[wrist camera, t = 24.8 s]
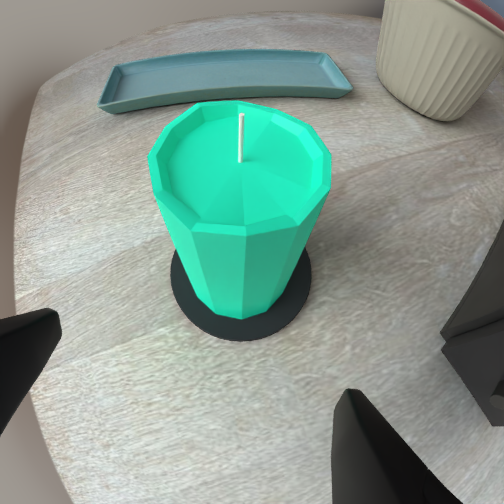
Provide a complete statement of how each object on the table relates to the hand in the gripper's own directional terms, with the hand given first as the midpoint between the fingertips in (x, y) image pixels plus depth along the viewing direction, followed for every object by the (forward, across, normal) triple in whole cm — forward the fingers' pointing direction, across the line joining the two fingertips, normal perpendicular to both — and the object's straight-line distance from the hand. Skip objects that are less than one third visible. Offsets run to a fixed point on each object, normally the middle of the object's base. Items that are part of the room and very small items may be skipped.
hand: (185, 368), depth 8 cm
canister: (+32, -17, -19) cm, 41 cm away
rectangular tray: (+26, +7, -13) cm, 30 cm away
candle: (+11, 0, +2) cm, 11 cm away
